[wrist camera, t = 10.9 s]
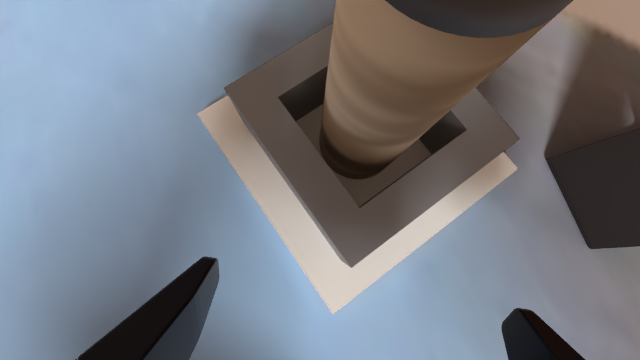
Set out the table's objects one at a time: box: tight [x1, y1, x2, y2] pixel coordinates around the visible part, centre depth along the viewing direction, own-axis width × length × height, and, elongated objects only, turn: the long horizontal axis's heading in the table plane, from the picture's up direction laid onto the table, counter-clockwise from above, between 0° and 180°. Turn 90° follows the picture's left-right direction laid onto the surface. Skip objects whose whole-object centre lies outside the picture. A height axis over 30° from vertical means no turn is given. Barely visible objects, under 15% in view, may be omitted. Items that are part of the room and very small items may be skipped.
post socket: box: [197, 23, 520, 314], centre depth 16 cm, size 14×14×5 cm
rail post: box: [319, 0, 573, 179], centre depth 11 cm, size 5×5×13 cm
